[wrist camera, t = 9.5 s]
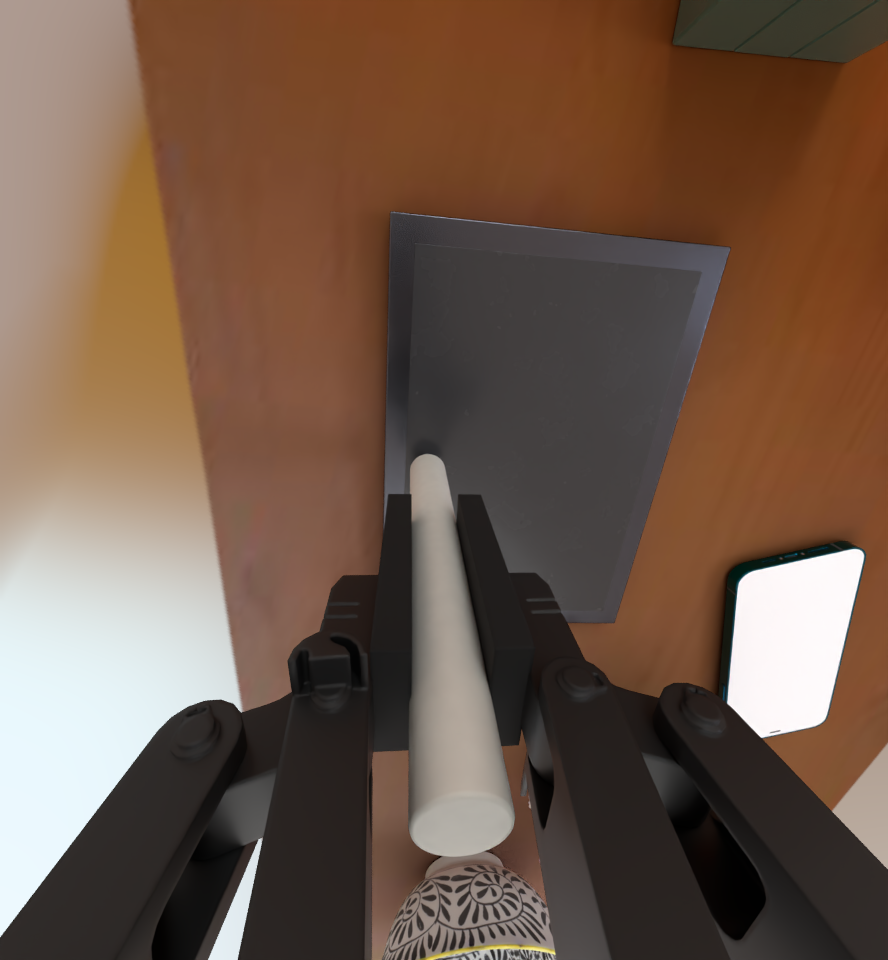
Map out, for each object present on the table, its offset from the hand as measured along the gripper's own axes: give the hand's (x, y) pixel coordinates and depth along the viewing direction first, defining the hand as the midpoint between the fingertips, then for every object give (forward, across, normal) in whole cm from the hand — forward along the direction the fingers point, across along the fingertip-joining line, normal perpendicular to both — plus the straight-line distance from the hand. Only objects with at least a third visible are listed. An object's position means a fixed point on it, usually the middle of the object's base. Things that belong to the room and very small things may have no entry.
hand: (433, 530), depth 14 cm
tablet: (+8, +5, 0) cm, 9 cm away
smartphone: (+8, +24, -14) cm, 29 cm away
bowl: (+8, +4, -40) cm, 41 cm away
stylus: (+6, 0, 0) cm, 6 cm away
